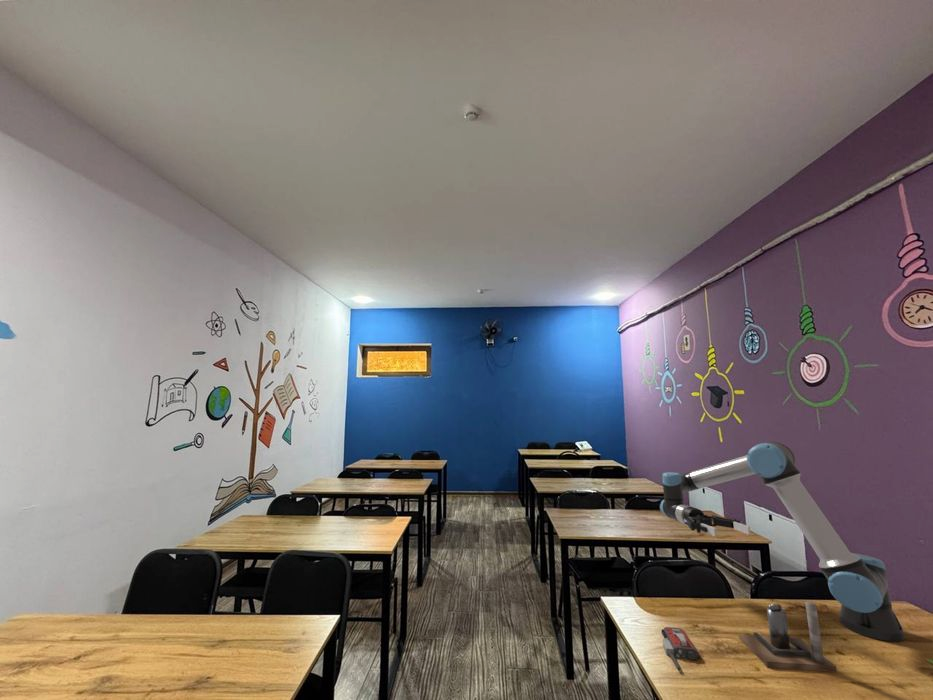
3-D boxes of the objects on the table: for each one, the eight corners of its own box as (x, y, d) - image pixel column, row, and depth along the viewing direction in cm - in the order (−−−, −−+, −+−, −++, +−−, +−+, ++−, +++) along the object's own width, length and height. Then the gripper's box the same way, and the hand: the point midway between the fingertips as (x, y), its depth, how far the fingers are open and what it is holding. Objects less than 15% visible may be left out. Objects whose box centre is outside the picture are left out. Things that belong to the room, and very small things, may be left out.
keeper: (803, 642, 122) (796, 586, 124) (840, 672, 108) (831, 607, 111) (739, 639, 124) (733, 583, 127) (767, 667, 110) (759, 604, 113)
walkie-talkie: (655, 634, 128) (675, 674, 108) (654, 619, 128) (674, 656, 109) (684, 637, 126) (709, 678, 107) (682, 622, 127) (708, 660, 107)
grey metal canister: (780, 640, 120) (774, 600, 122) (794, 649, 116) (788, 607, 118) (767, 642, 120) (761, 601, 122) (780, 651, 115) (775, 608, 117)
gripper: (718, 524, 160) (764, 540, 139) (663, 527, 156) (702, 544, 135) (716, 505, 161) (761, 518, 140) (661, 507, 157) (699, 522, 137)
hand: (732, 531), depth 138 cm, fingers open, 13 cm apart
